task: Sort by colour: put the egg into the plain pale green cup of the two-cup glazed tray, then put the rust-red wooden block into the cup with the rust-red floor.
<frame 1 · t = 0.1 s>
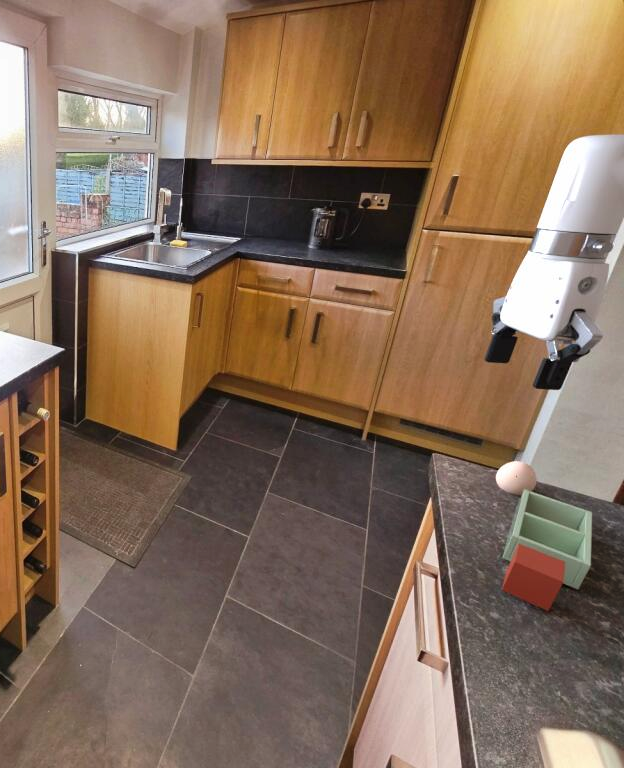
hand: (519, 374, 68), 23 cm above the countertop, tool pointing down, fingers open, 9 cm apart
egg: (508, 493, 82), on the countertop
tray: (543, 545, 70), on the countertop
block: (526, 590, 62), on the countertop
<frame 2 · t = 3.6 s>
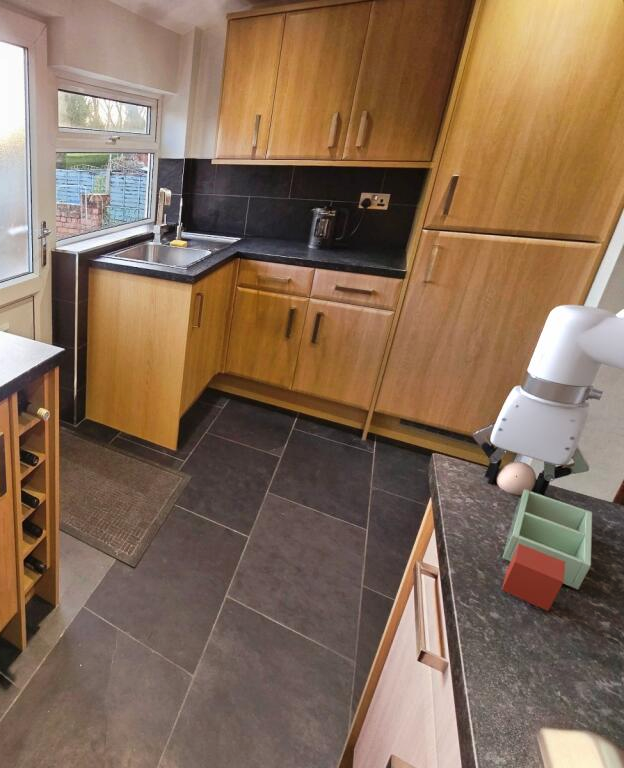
hand: (511, 488, 82), 1 cm above the countertop, tool pointing down, fingers closed on egg, 5 cm apart
egg: (508, 493, 82), on the countertop, touching gripper
everything else where it was.
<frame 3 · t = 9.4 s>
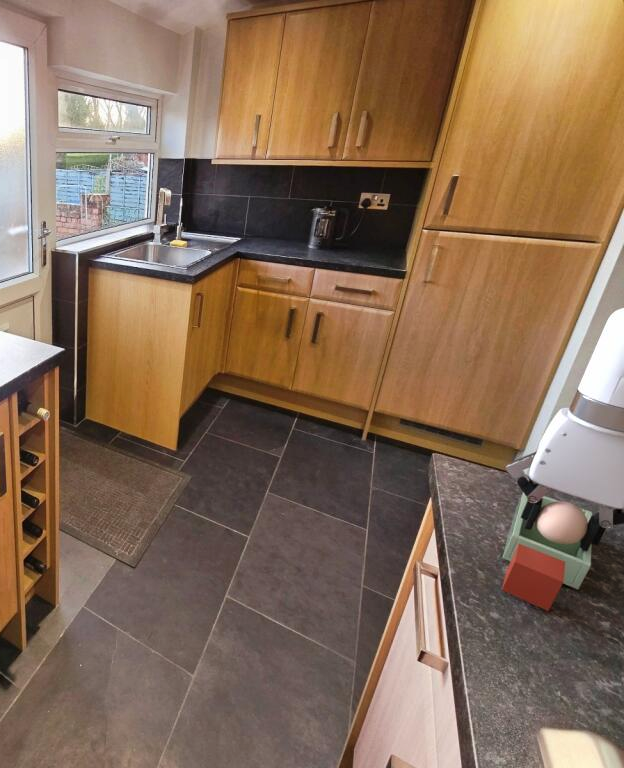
hand: (555, 533, 66), 4 cm above the countertop, tool pointing down, fingers closed on egg, 5 cm apart
egg: (551, 539, 66), point 3 cm above the countertop, touching gripper
everything else where it was.
when the fingers open (4 cm above the countertop, at t = 13.0 s): egg drops 3 cm, resting on tray.
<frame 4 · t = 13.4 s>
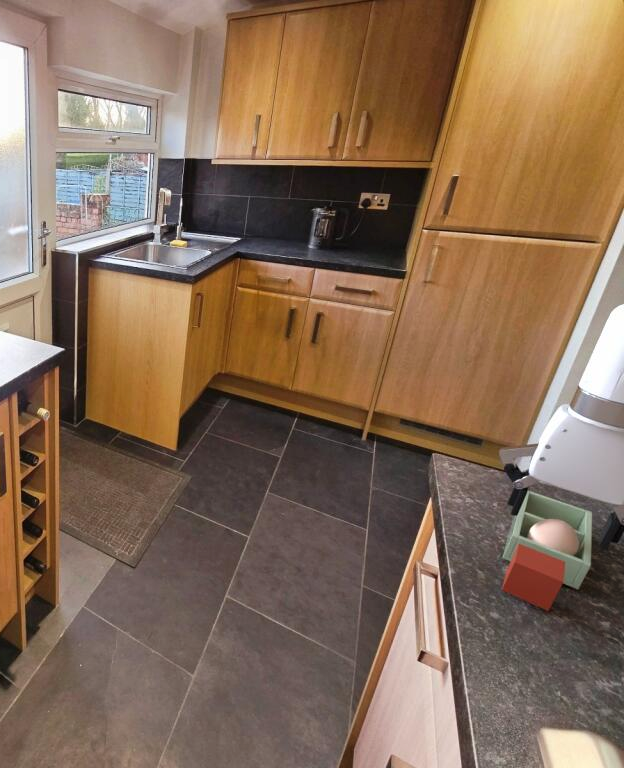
hand: (556, 526, 65), 5 cm above the countertop, tool pointing down, fingers open, 8 cm apart
egg: (543, 557, 67), resting on tray
everything else where it was.
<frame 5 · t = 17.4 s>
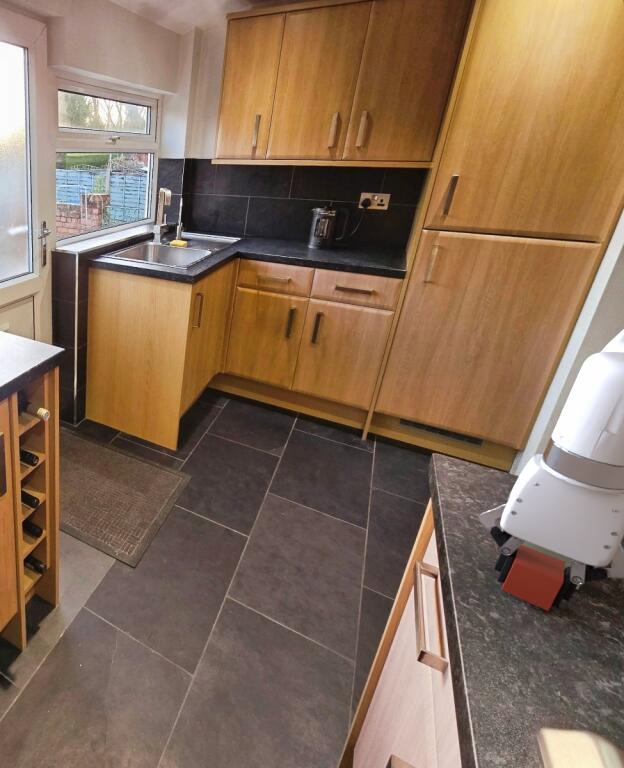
hand: (527, 586, 62), 1 cm above the countertop, tool pointing down, fingers closed on block, 4 cm apart
block: (526, 590, 62), on the countertop, touching gripper
everything else where it was.
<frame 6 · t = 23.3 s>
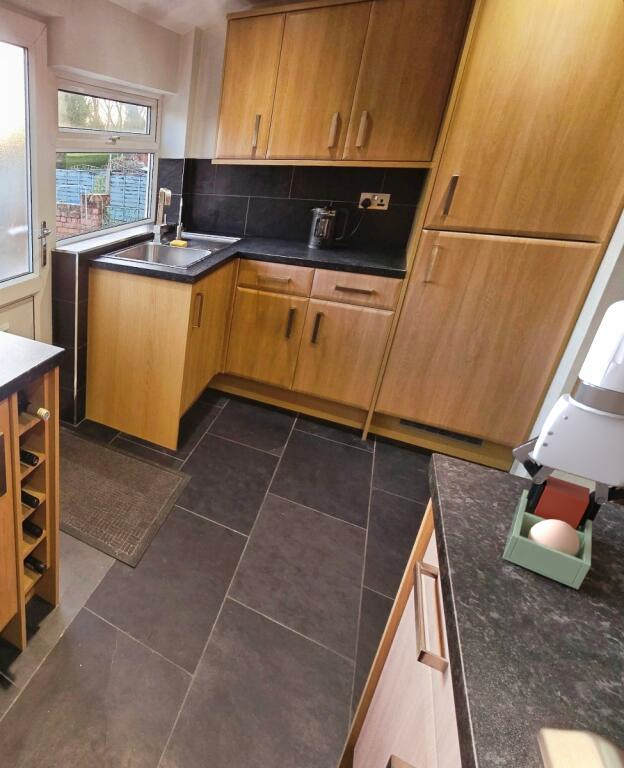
hand: (556, 511, 71), 4 cm above the countertop, tool pointing down, fingers closed on block, 4 cm apart
block: (555, 515, 71), point 3 cm above the countertop, touching gripper
everything else where it was.
when the fingers open (4 cm above the countertop, at t = 27.5 s): block drops 3 cm, resting on tray.
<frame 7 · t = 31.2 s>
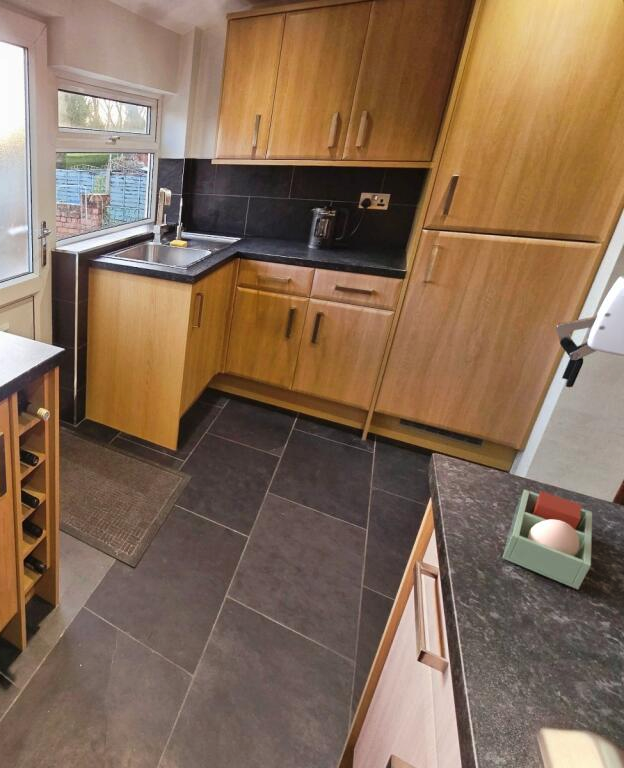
hand: (613, 394, 69), 20 cm above the countertop, tool pointing down, fingers open, 9 cm apart
block: (547, 530, 72), point 1 cm above the countertop, touching tray
everything else where it was.
at the end: egg 0.2 cm from the target spot in the tray, point 0.2 cm above the tray's base; block 0.1 cm from the target spot in the tray, point 0.6 cm above the tray's base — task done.
